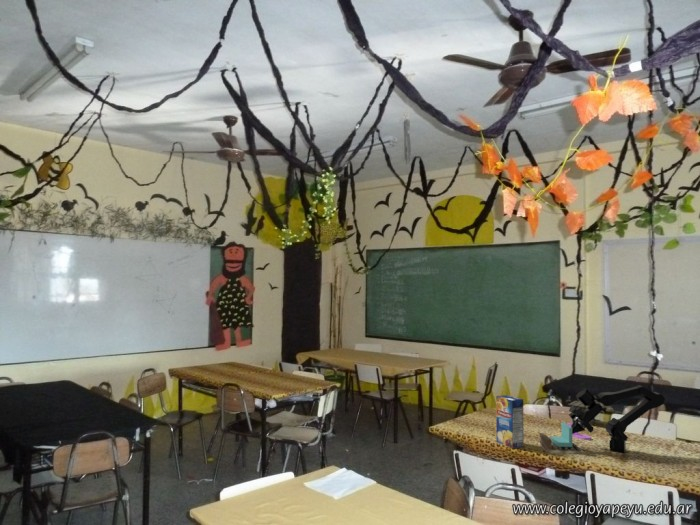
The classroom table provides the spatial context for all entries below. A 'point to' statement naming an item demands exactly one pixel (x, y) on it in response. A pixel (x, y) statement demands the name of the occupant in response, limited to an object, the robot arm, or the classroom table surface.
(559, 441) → the teal l-shaped block
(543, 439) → the roller track
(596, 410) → the robot arm
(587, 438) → the bracket
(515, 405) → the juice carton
